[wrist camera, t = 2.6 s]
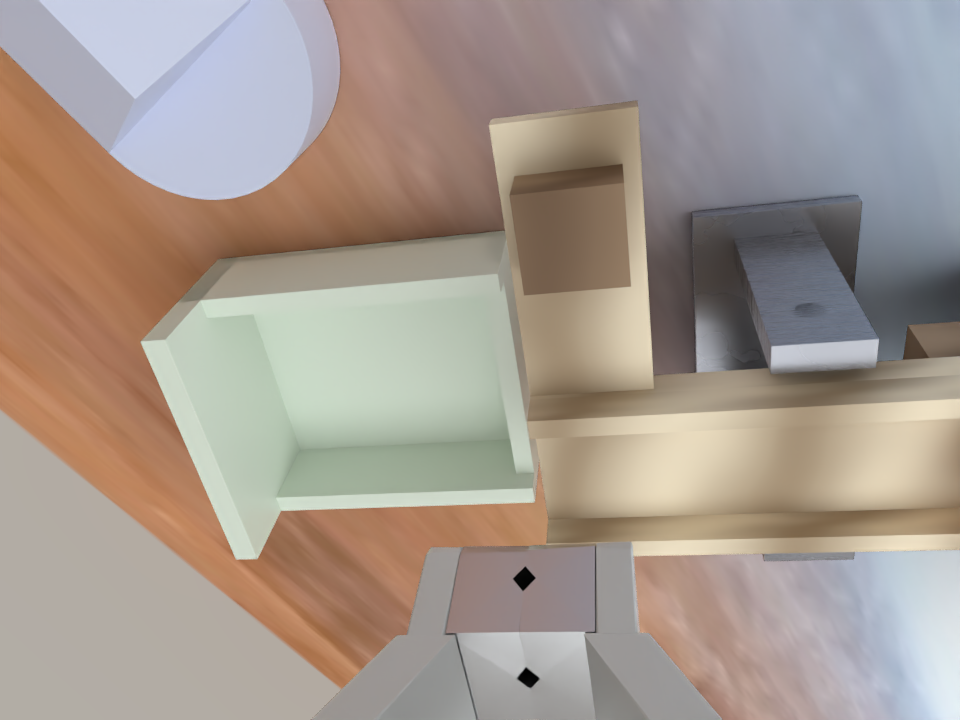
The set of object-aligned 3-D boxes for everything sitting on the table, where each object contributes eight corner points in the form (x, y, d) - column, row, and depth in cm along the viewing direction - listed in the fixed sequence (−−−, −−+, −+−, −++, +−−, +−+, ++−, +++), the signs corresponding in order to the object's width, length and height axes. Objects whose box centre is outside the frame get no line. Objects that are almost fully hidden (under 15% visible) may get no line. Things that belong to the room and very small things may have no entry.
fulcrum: (1041, 177, 29) (1190, 286, 21) (989, 423, 34) (1093, 576, 27) (691, 211, 31) (719, 321, 24) (697, 437, 36) (720, 581, 29)
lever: (1175, 6, 21) (1348, 52, 16) (1054, 453, 29) (1147, 575, 24) (501, 95, 24) (476, 155, 20) (554, 473, 32) (546, 583, 27)
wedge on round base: (-30, -60, 29) (236, 211, 33) (-183, -38, 23) (161, 284, 28) (110, -264, 25) (389, 73, 30) (-33, -298, 19) (339, 125, 24)
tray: (508, 230, 32) (487, 314, 26) (540, 444, 38) (529, 553, 32) (218, 259, 35) (140, 341, 29) (289, 456, 40) (236, 559, 34)
